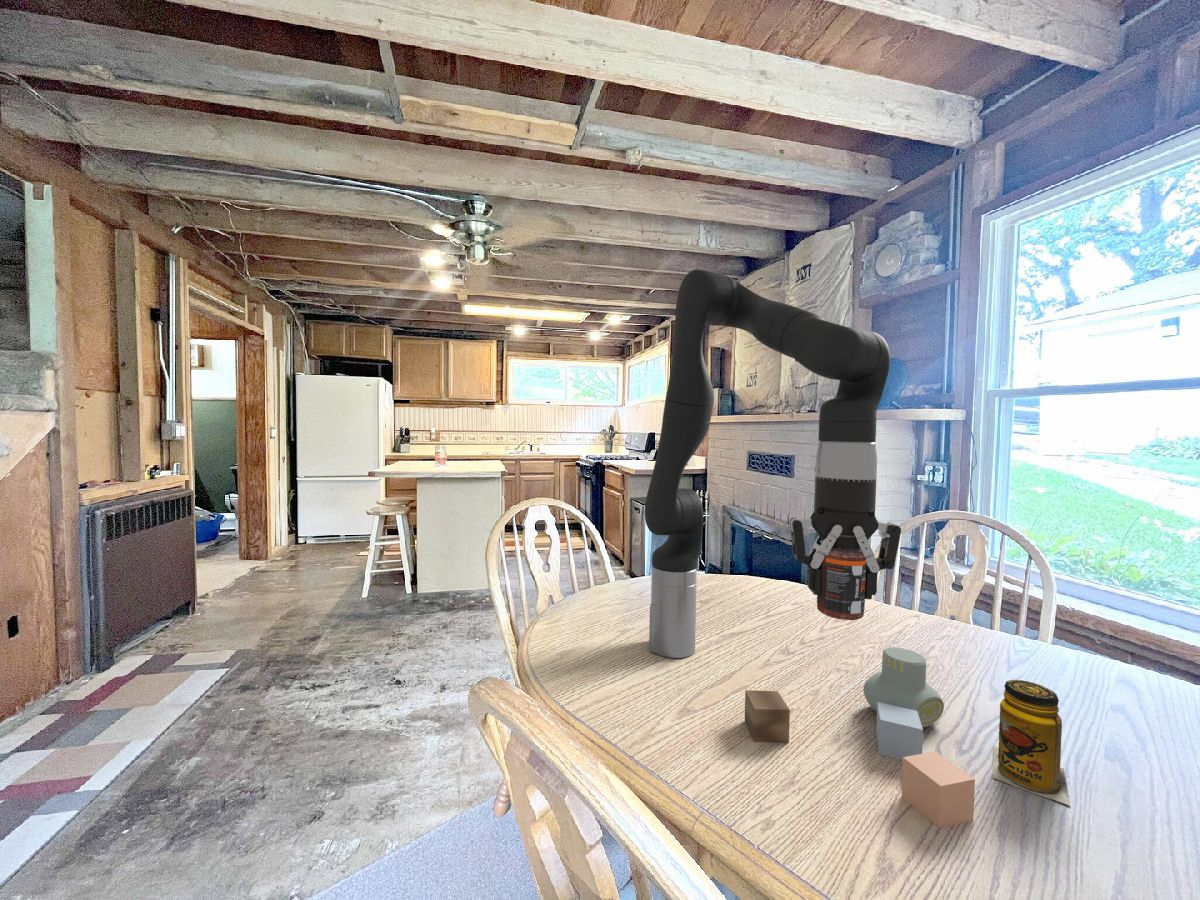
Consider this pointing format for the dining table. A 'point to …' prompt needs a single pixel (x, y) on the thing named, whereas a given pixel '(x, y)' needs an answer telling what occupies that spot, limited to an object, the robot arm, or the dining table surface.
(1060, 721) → the condiment
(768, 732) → the walnut block
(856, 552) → the supplement bottle
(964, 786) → the terracotta block
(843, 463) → the robot arm
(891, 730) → the slate block
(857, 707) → the dining table surface
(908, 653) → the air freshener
